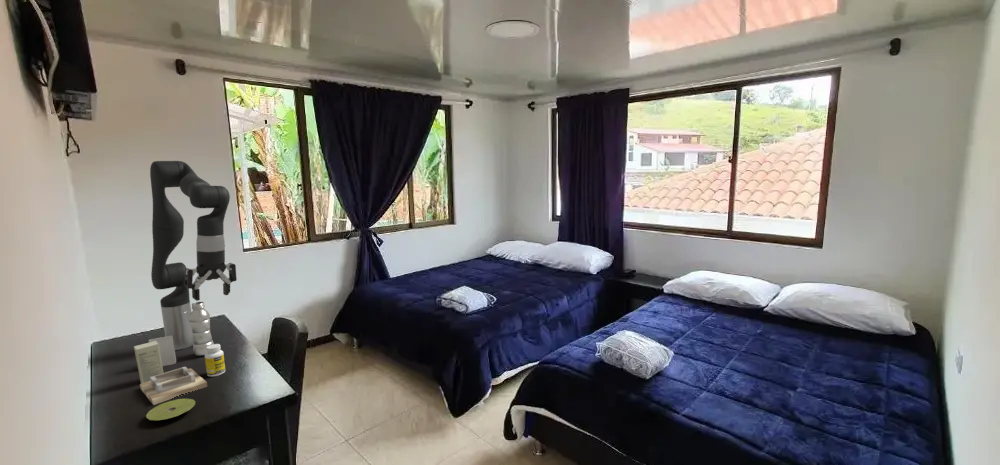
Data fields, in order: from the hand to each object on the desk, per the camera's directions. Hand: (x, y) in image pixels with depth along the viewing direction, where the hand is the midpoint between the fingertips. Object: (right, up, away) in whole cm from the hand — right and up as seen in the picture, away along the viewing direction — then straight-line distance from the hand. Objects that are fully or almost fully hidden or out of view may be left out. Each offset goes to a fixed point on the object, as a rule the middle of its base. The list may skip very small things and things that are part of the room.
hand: (211, 297), depth 143 cm
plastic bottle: (-18, -25, +24) cm, 39 cm away
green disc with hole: (0, -31, -18) cm, 36 cm away
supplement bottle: (-3, -27, +8) cm, 29 cm away
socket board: (-11, -29, -2) cm, 31 cm away
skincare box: (-23, -28, +4) cm, 37 cm away
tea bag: (-27, -27, +16) cm, 41 cm away
